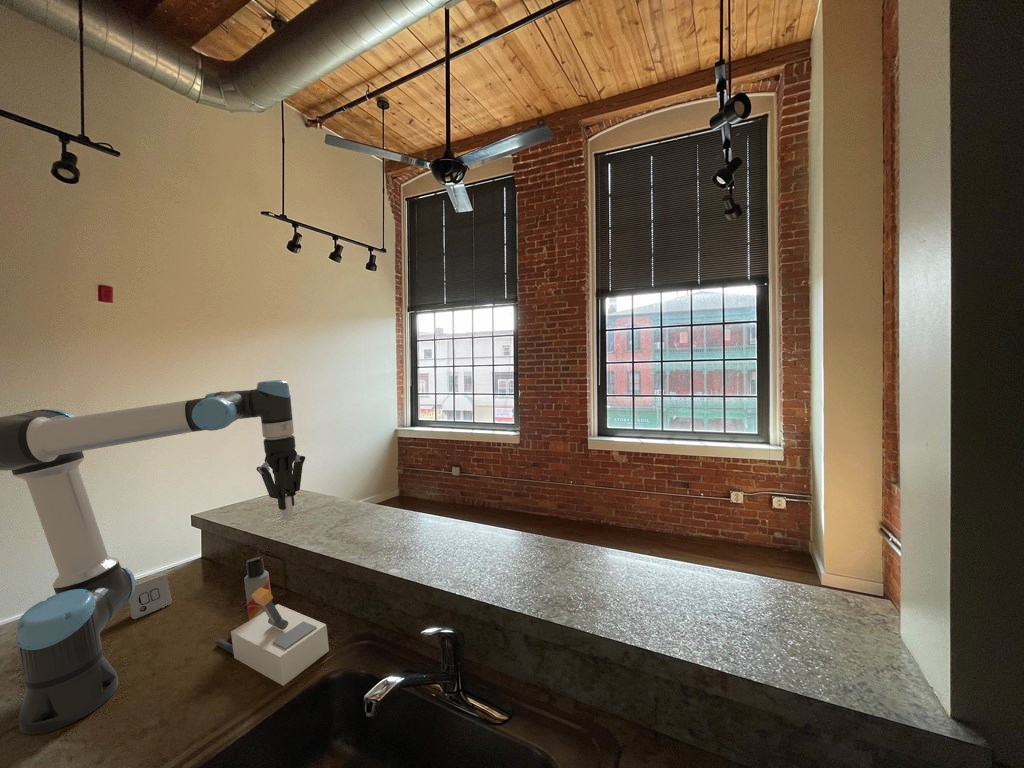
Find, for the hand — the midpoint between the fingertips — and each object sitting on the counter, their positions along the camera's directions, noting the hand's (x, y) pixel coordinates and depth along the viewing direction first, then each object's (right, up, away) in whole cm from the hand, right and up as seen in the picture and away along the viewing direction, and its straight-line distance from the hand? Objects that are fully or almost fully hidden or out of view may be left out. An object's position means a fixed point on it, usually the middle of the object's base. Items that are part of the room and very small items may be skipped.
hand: (288, 519), depth 118 cm
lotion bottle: (-6, -29, -2) cm, 30 cm away
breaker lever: (+5, -21, -14) cm, 26 cm away
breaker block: (+5, -30, -13) cm, 33 cm away
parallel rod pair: (-9, -30, -9) cm, 33 cm away
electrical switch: (-47, -31, +9) cm, 56 cm away
